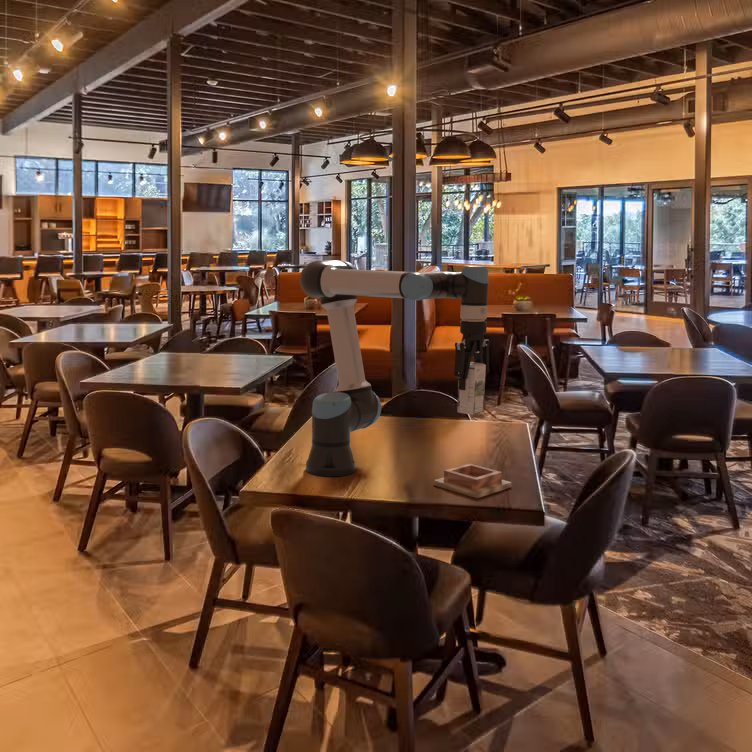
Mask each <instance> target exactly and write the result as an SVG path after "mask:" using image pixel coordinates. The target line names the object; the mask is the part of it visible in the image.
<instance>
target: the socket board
mask: <svg viewBox="0 0 752 752" xmlns="http://www.w3.org/2000/svg"><path fill="white" fill-rule="evenodd" d="M433 486H434V487H435V486H436V487H439V488H442V489H445V490H449V491H452V492H455V493H457V494H461V495H465V496H468V497H471V498H475V499H479V498H482V497H485V496H488V495H492V494H495V493H498V492H501V491H504V490H507V489H510V488H512V481H508V480H505V479H503V472H502V471H500V470H496V469H493V468H488V467H486V466H485V467H484V466H481V465H477V464H473V463H466V464H462V465H459V466H455V467H453V468H452V467H451V468H448V469H445V470H443V477H440V478H436V479H434V480H433Z"/></svg>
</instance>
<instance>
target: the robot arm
mask: <svg viewBox="0 0 752 752" xmlns="http://www.w3.org/2000/svg"><path fill="white" fill-rule="evenodd" d="M489 282H490V281H489V269H488V267H487V266H485V265H463V266H462V268H461V271H459V272H454V271H440V270H437V271H436V270H433V271H427V272H426V271H425V272H423V271H422V272H421V271H419V272H418V271H397V270H395V271H394V270H374V269H373V270H372V269H357V268H356V266H355V265H353V264H352V263H351V262H349V261H346V260H344V261H343V260H339V259H338V260H335V259H334V260H314V261H311V262H308V264H306V265H305V266H304V267H303V268H302V270H301V272H300V274H299V284H300V288H301V290H302V291H303V292H304V294H305V295H307V296H308V297H310V298H313V299H319V302H320V306H321V307H322V308H323V309H325V311H326V314H327V320H328V327H329V332H330V337H331V344H332V345H331V346H332V351H333V356H334V357H333V358H334V364H335V368H336V374H337V381H338V384H337V387H336V388H335V390H334V391H335V392H334V391H332V392H330V393H329V392H325V393H321V394H319V395H317V396H316V397H315V398H314V399H313V401H312V408H311V415H312V416H311V419H312V421H311V425H312V426H311V427H312V428H311V447H310V448H311V449H310V451H309V454H308V457H307V460H306V462H305V471H306V472H307V473H309V474H311V475H314V476H320V477H342V476H348V475H351V474H353V473H354V472H355V471H356V463H355V460H354V456H353V453H352V448H351V433H352V432H354V431H358V430H362V429H366V428H368V427H370V426H372V425H374V424H375V423H376V422H377V420H378V419H379V418H380V416H381V413H382V403H381V400H380V398H379V396H378V395H377V394H376V393H375V391H373V390H372V385H371V383H370V382H368V381H367V380H366V377H365V376H366V375H365V370H364V364H363V358H362V350H361V345H360V339H359V334H358V333H359V331H358V326H357V320H356V315H355V309H354V306H355V304H356V303H357V301H358V298H357V296H361V297H375V298H390V299H391V298H392V299H393V298H394V299H408V300H410V301H423V300H434V299H460V315H459V317H460V319H461V320H460V321H459V325H460V326H459V333H460V334H462V338H461V340H460V342H458V341H457V342H455V343H454V350H455V355H454V371H453V377H455V378H456V379H459V401H465V402H468V392H469V379H467V375H468V371H469V366H470V362H472V357H473V362H477V363H482V364H485V365H486V371H485V378H486V377H487V376H488V374H489V373H490V345H491V340H490V339H485V337H484V335H485V334H486V333H487V326H488V325H487V324H488V323H487V321H486V320H487V318H488V317H487V316H488V294H489V293H488V292H489ZM463 373H464V374H463Z"/></svg>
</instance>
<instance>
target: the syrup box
mask: <svg viewBox="0 0 752 752" xmlns="http://www.w3.org/2000/svg"><path fill="white" fill-rule="evenodd" d="M485 371H486V365H485V364H482V363H477V362H474V361H471V362H470V366H469V371H468V375H467V379H469V392H468V402H465V401H459V378H457V379H458V381H457V403H456V404H457V405H456V406H457V407H456V412H457V413H459V414H465V415H472V416H474V415H478V414H481V413H483V412H484V409H485V408H484V406H485V404H484V403H485V391H486V390H485V388H486V387H485V386H486V377H485ZM463 374H464V373H463Z"/></svg>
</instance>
